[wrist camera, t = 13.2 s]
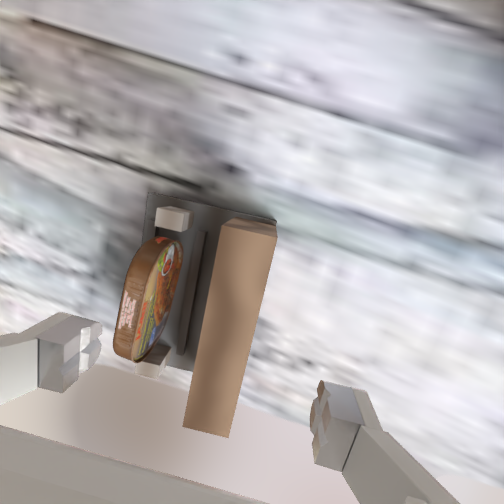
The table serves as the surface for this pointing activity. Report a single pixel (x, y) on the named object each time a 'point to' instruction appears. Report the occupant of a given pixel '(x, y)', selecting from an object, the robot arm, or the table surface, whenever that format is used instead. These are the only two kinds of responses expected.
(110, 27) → the table surface
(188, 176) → the table surface
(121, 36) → the table surface
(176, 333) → the cabinet
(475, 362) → the table surface
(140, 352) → the tin
